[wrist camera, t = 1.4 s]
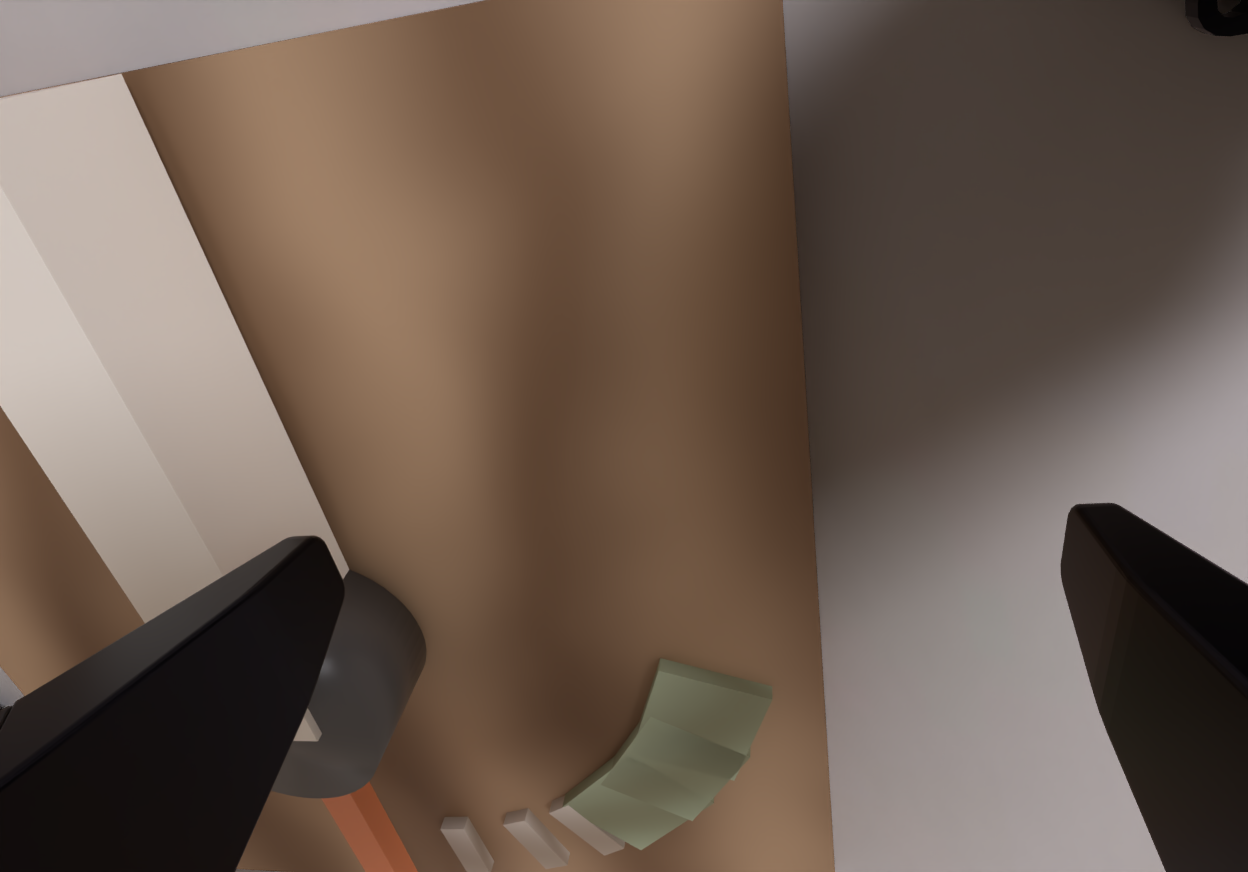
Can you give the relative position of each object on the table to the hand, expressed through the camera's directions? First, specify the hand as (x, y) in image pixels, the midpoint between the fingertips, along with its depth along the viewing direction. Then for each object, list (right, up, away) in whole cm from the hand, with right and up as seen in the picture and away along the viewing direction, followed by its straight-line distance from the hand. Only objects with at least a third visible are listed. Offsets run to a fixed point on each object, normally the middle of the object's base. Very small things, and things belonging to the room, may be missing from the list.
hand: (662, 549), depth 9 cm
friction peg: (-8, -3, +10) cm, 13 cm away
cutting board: (-8, -3, +12) cm, 14 cm away
